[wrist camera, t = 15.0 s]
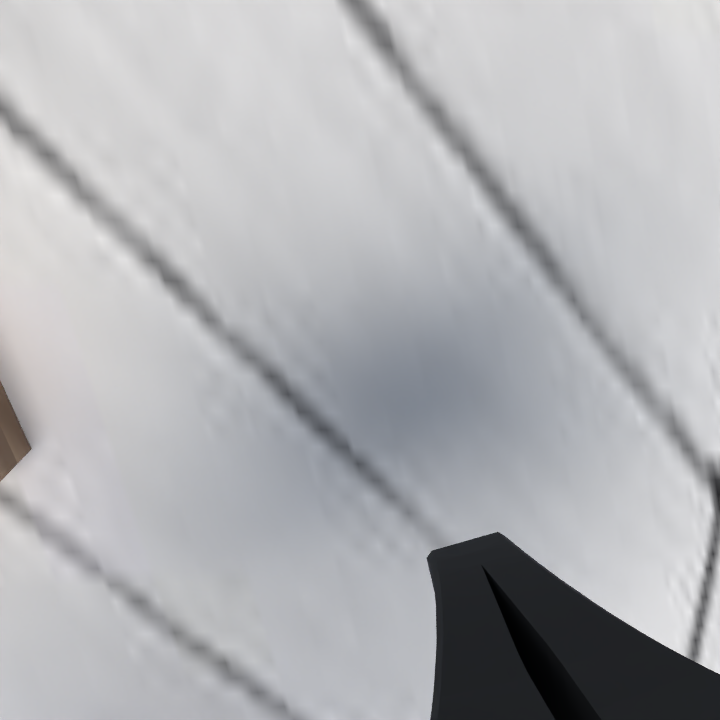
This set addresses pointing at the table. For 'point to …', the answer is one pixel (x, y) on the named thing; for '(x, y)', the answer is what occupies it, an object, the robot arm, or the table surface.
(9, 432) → the block
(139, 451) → the table surface
